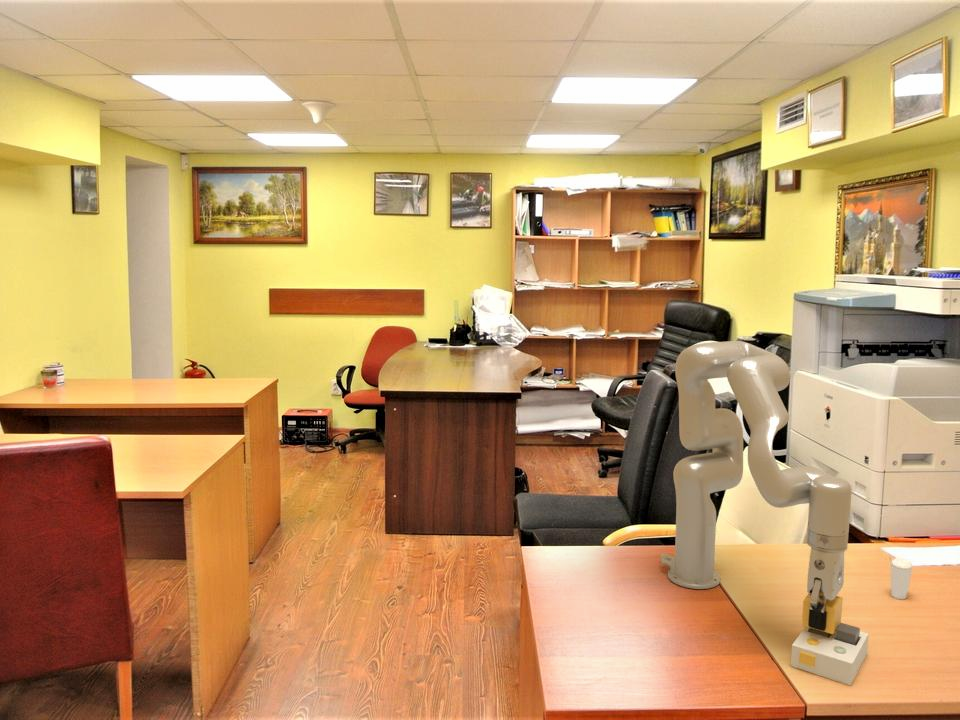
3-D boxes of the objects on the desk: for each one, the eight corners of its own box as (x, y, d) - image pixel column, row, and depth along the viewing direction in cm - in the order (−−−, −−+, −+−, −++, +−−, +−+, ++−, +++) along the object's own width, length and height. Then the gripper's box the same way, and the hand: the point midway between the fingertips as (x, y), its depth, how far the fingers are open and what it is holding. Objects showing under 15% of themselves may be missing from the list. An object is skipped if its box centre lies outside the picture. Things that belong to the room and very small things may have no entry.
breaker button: (834, 648, 153) (836, 629, 153) (839, 640, 156) (840, 622, 155) (854, 654, 151) (855, 635, 150) (858, 646, 154) (859, 628, 153)
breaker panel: (790, 666, 151) (791, 644, 150) (810, 637, 162) (811, 616, 162) (850, 686, 144) (852, 662, 144) (867, 654, 156) (868, 632, 155)
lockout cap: (801, 625, 156) (803, 600, 155) (810, 613, 160) (811, 589, 159) (833, 634, 152) (835, 608, 151) (840, 622, 157) (842, 597, 156)
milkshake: (880, 592, 182) (883, 553, 181) (901, 591, 183) (905, 552, 181) (892, 601, 178) (895, 561, 176) (914, 600, 178) (917, 560, 177)
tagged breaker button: (808, 647, 157) (809, 629, 156) (813, 640, 159) (814, 622, 159) (826, 653, 154) (828, 634, 154) (831, 645, 157) (832, 627, 156)
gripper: (836, 557, 144) (829, 645, 147) (857, 529, 158) (851, 611, 160) (795, 547, 149) (789, 633, 152) (819, 521, 162) (813, 600, 165)
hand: (821, 621), depth 156 cm, fingers closed on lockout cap, 5 cm apart
